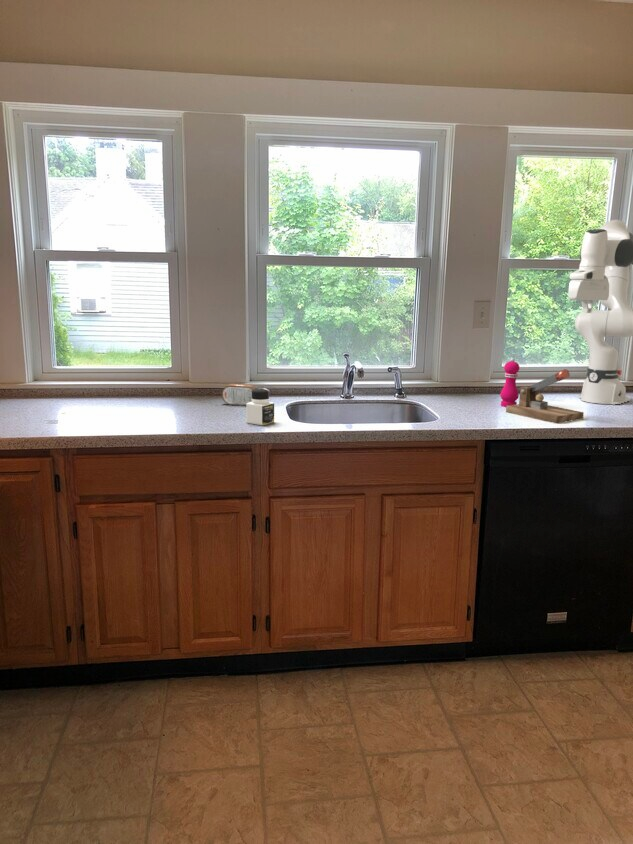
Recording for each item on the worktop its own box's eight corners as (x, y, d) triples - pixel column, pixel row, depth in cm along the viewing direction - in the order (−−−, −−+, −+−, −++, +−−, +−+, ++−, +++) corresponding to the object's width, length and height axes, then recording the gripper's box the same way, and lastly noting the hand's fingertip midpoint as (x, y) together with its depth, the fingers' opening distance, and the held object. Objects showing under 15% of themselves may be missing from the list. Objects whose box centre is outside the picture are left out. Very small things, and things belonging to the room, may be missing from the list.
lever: (522, 397, 248) (519, 389, 249) (527, 396, 250) (525, 389, 251) (565, 377, 231) (562, 369, 232) (570, 376, 233) (567, 368, 233)
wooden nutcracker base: (532, 408, 256) (534, 383, 254) (582, 418, 238) (585, 392, 235) (505, 412, 248) (508, 386, 246) (556, 423, 229) (558, 396, 227)
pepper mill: (518, 408, 256) (522, 359, 252) (500, 407, 257) (504, 358, 253) (516, 404, 263) (520, 357, 259) (498, 403, 264) (502, 356, 260)
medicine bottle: (262, 425, 217) (262, 391, 215) (246, 423, 221) (245, 389, 218) (274, 422, 223) (274, 388, 221) (258, 419, 227) (258, 386, 224)
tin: (259, 405, 253) (259, 384, 251) (257, 406, 250) (257, 385, 248) (223, 403, 255) (223, 383, 254) (220, 405, 252) (220, 384, 250)
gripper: (600, 275, 240) (596, 312, 243) (566, 274, 229) (562, 312, 232) (615, 275, 235) (611, 313, 238) (582, 274, 224) (578, 313, 227)
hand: (587, 312), depth 235 cm, fingers closed
